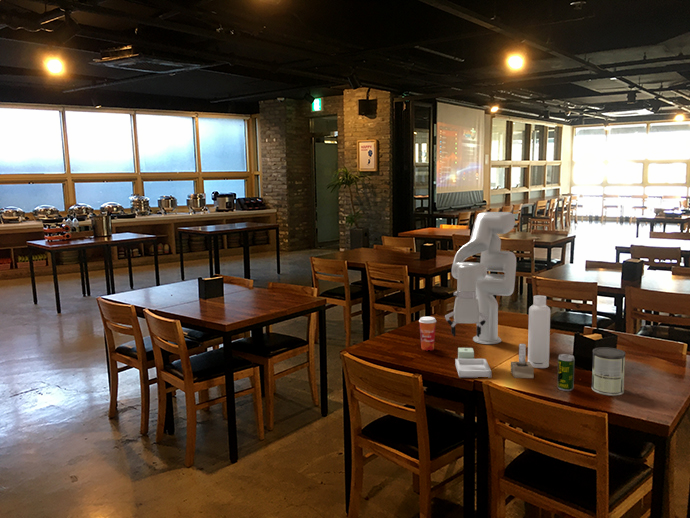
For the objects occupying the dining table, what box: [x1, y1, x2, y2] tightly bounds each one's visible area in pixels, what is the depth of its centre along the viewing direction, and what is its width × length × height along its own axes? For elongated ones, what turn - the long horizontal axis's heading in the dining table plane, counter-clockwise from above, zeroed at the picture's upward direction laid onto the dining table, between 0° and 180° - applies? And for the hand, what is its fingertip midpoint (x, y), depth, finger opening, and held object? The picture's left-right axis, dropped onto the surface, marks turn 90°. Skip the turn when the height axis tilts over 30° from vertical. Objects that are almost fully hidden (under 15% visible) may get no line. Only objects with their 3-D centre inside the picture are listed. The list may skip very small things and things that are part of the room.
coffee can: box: [591, 346, 627, 397], centre depth 191 cm, size 10×10×14 cm
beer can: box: [556, 353, 575, 392], centre depth 194 cm, size 5×5×12 cm
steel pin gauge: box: [518, 343, 527, 366], centre depth 209 cm, size 2×2×12 cm
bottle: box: [527, 294, 551, 369], centre depth 219 cm, size 8×8×28 cm
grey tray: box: [454, 358, 492, 379], centre depth 215 cm, size 15×12×2 cm
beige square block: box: [510, 361, 535, 379], centre depth 209 cm, size 7×7×4 cm
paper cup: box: [418, 316, 437, 352], centre depth 245 cm, size 8×8×14 cm
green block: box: [457, 347, 475, 359], centre depth 227 cm, size 6×6×5 cm
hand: (466, 336), depth 225 cm, fingers open, 9 cm apart
